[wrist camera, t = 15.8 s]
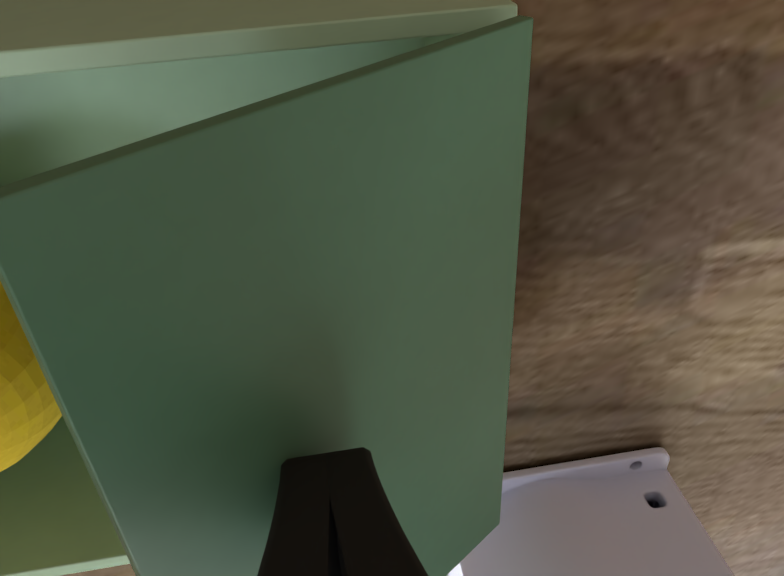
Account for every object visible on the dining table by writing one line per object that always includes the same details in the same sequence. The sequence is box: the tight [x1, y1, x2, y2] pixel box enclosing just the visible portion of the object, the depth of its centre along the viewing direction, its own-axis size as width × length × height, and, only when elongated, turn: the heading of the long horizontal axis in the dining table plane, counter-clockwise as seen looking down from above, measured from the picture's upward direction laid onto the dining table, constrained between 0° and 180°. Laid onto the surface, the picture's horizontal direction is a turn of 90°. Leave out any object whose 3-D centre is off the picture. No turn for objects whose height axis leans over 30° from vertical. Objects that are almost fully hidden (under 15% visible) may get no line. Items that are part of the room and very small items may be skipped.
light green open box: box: [0, 0, 518, 576], centre depth 16 cm, size 17×13×6 cm
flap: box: [0, 15, 533, 576], centre depth 12 cm, size 8×13×1 cm
